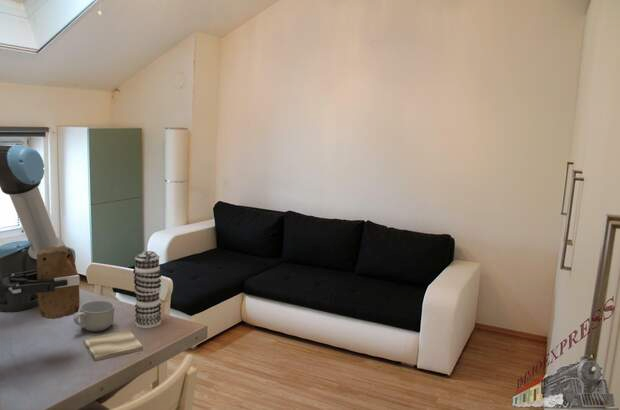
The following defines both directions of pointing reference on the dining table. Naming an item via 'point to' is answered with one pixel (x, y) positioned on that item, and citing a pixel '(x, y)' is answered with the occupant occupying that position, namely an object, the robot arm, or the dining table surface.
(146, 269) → the decorative candle
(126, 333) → the beige packet
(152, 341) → the dining table surface
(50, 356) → the dining table surface
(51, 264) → the block
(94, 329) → the teacup
